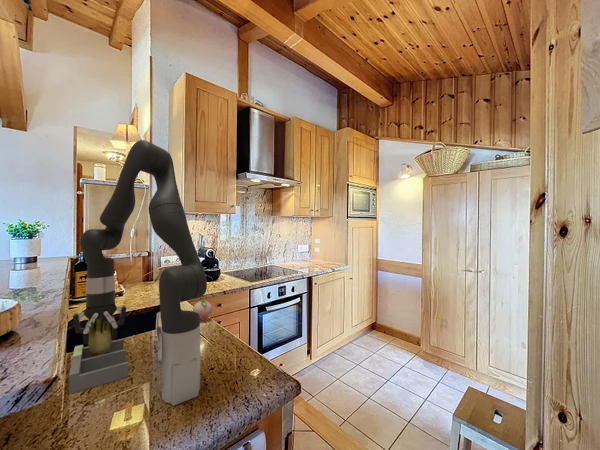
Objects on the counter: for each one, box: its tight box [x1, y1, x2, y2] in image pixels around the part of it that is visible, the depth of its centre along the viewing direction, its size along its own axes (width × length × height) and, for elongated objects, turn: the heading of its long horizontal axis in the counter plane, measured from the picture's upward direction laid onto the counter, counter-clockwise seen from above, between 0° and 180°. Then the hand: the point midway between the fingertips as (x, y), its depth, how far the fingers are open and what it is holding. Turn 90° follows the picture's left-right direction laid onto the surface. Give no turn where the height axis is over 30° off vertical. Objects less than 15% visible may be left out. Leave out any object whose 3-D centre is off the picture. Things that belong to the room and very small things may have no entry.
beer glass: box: [155, 311, 162, 362], centre depth 87 cm, size 7×7×15 cm
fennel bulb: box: [87, 319, 114, 356], centre depth 84 cm, size 6×5×12 cm
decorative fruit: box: [192, 298, 213, 321], centre depth 121 cm, size 9×8×10 cm
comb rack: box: [68, 338, 129, 395], centre depth 80 cm, size 21×13×5 cm, turn 38°
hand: (100, 341), depth 84 cm, fingers closed on fennel bulb, 6 cm apart
